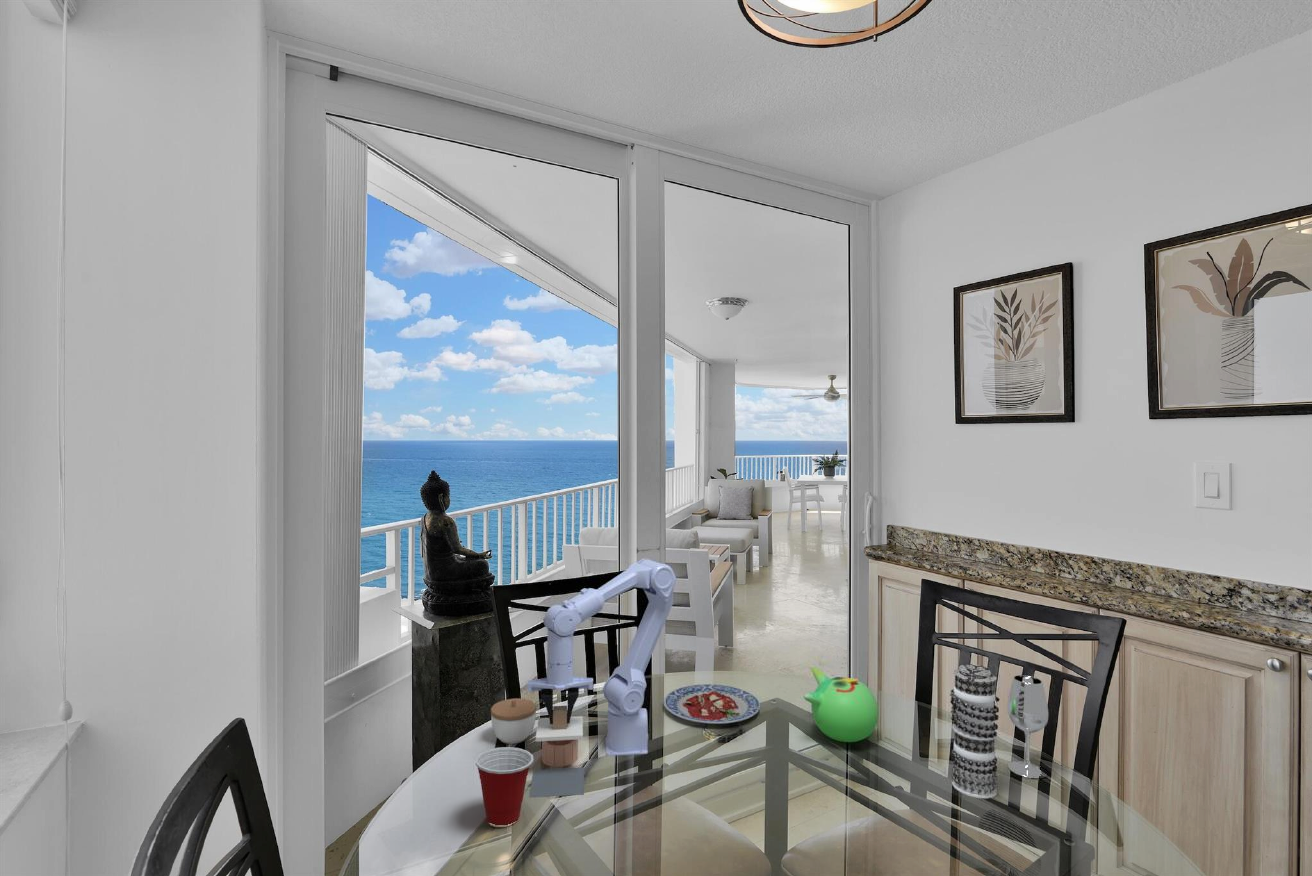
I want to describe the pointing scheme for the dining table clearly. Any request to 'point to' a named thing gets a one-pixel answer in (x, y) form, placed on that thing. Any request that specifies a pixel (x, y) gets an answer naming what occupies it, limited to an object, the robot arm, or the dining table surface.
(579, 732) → the lid
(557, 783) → the mat
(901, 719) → the dining table surface
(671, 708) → the ceramic plate
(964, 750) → the decorative candle
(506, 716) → the lidded jar
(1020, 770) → the wineglass
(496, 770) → the plastic cup
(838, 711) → the toy bird
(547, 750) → the bowl
